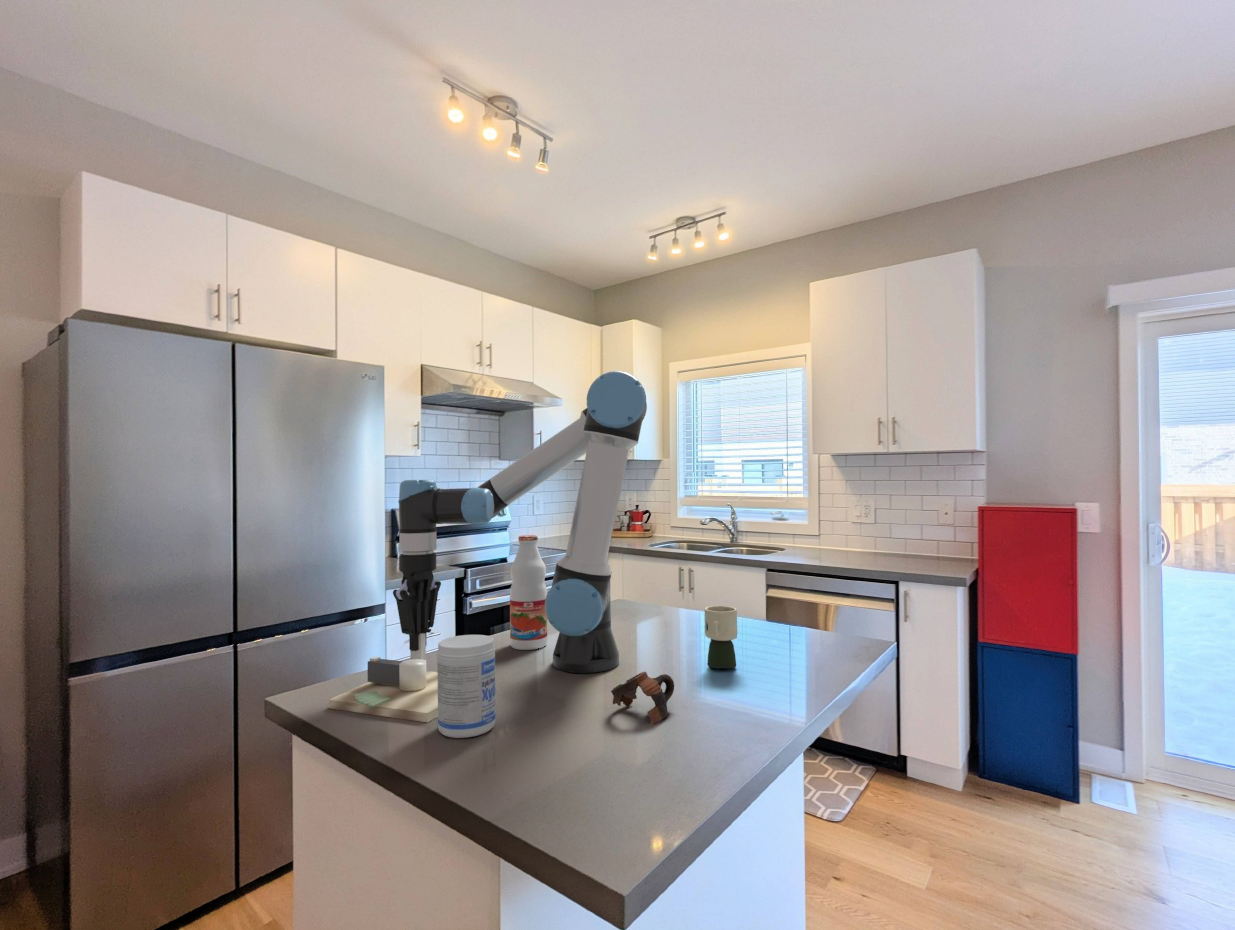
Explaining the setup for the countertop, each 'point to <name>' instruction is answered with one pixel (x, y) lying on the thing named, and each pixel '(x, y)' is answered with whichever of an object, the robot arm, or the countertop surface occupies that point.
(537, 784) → the countertop surface
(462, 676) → the supplement tub
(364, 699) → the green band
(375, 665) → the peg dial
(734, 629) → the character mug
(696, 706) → the countertop surface
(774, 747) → the countertop surface
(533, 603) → the fruit juice
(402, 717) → the board
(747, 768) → the countertop surface
